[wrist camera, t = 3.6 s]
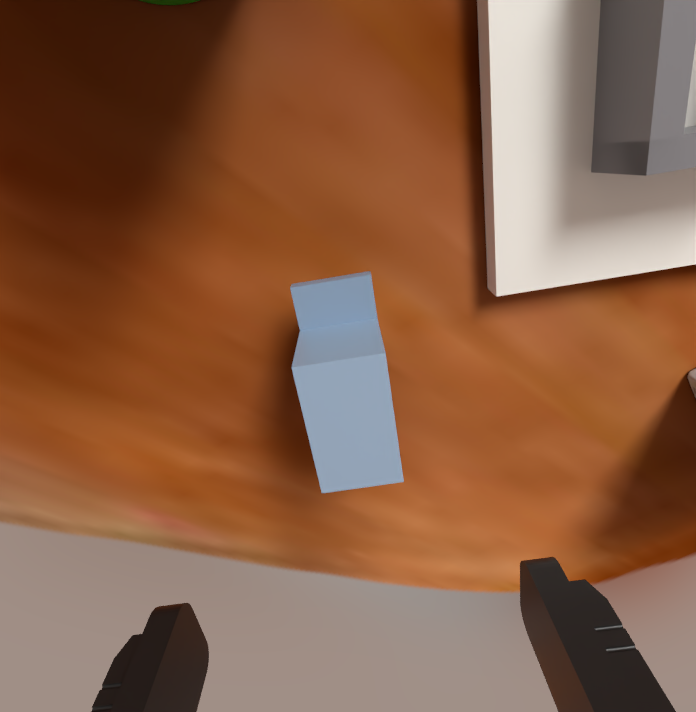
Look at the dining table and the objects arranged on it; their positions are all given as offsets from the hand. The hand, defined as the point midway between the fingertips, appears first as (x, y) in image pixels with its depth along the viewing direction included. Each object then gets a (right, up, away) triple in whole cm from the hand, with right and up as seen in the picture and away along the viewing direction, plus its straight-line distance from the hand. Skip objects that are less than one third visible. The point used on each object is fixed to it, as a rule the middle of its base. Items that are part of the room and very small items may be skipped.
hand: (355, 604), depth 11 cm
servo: (0, +7, +15) cm, 16 cm away
